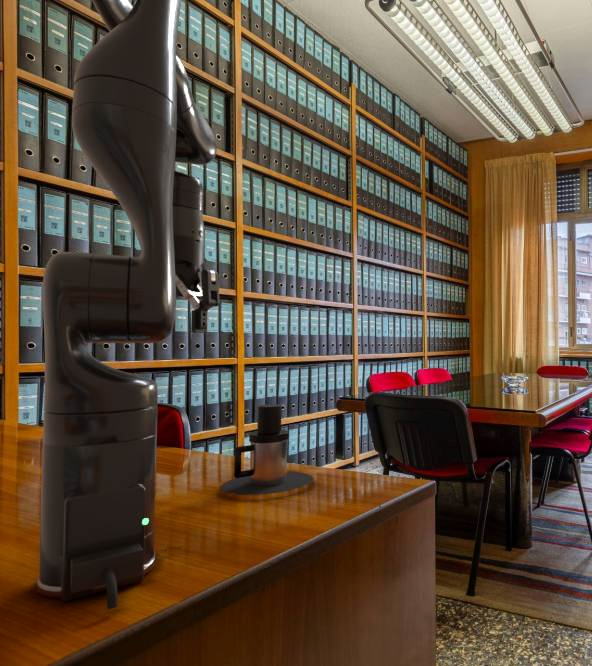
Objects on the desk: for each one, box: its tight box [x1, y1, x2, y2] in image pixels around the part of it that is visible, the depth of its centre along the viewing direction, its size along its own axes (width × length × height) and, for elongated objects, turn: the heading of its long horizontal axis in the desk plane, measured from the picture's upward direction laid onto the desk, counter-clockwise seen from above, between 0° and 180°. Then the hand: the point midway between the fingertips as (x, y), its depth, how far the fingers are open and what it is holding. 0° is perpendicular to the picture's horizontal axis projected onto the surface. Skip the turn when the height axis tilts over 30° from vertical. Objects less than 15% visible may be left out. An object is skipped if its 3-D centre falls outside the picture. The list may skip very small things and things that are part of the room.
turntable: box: [220, 470, 314, 496], centre depth 83 cm, size 14×14×1 cm
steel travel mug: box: [233, 403, 290, 487], centre depth 82 cm, size 8×6×13 cm
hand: (175, 332), depth 84 cm, fingers open, 8 cm apart
